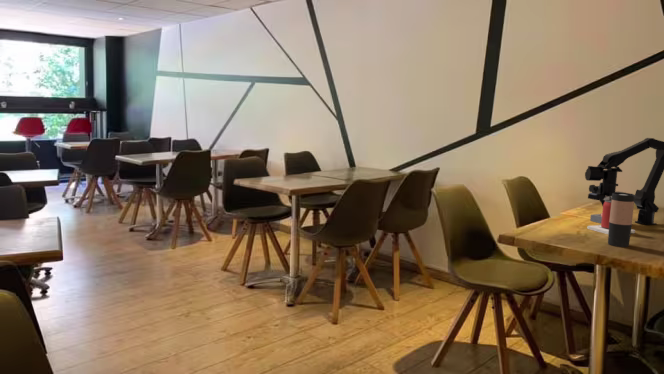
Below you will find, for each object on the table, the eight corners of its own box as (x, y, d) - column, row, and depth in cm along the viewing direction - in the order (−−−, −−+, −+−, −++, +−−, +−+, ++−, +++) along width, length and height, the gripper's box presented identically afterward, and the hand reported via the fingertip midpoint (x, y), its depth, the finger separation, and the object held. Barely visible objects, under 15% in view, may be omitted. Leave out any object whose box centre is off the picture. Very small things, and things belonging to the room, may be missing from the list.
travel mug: (602, 242, 200) (607, 192, 197) (621, 242, 201) (626, 192, 198) (615, 247, 192) (620, 195, 190) (634, 247, 193) (639, 195, 190)
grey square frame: (604, 219, 245) (605, 213, 244) (620, 223, 236) (621, 217, 236) (590, 220, 242) (590, 214, 242) (605, 224, 234) (606, 218, 233)
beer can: (620, 230, 217) (623, 202, 215) (603, 229, 218) (606, 201, 216) (614, 226, 223) (617, 200, 222) (598, 226, 224) (601, 199, 223)
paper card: (611, 226, 229) (611, 224, 229) (634, 232, 218) (635, 230, 217) (587, 228, 224) (587, 225, 224) (609, 234, 213) (610, 232, 213)
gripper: (610, 178, 247) (607, 209, 249) (580, 179, 241) (577, 211, 243) (630, 181, 237) (626, 214, 239) (599, 182, 231) (596, 216, 233)
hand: (606, 213), depth 239 cm, fingers closed, pressing on done button
